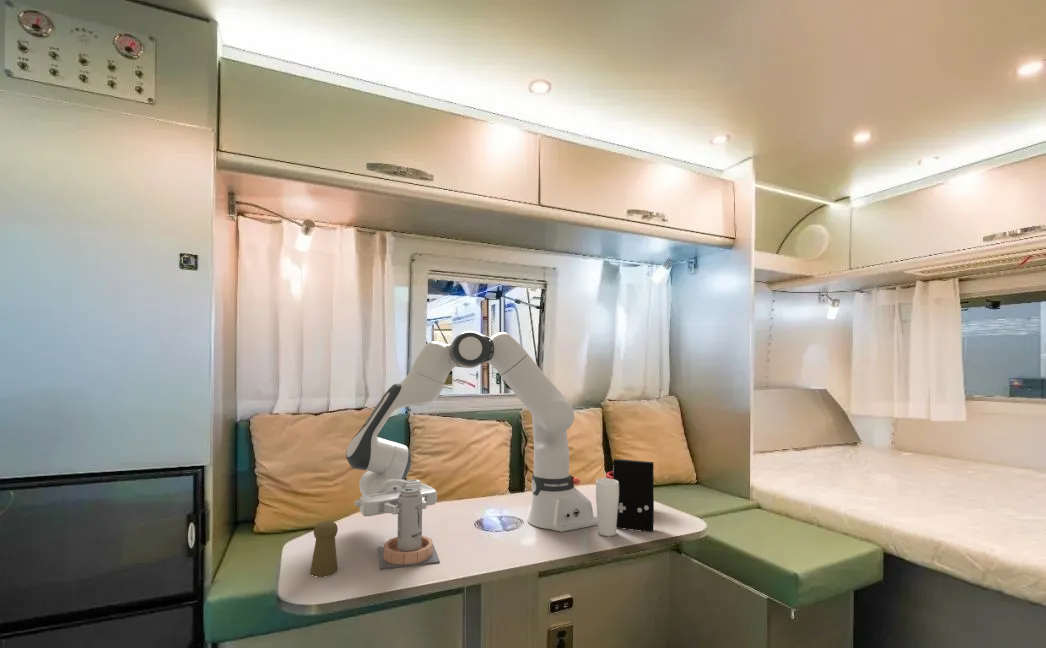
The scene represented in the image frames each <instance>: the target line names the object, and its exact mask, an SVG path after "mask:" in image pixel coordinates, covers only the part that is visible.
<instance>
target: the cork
mask: <svg viewBox="0 0 1046 648" xmlns="http://www.w3.org/2000/svg"><path fill="white" fill-rule="evenodd" d="M336 523H337V522H334V521H321V522H320V523H317V524H316V526H315V527H314V530H313V537H314V538H315V543H314V548H313V555H312V560H311V566H310V571H309V574H311V575H313V576H317V577H316V578H325V577H324V576H326V577H329V575H330V576H332V574H333V575H335V574H336V573H337V572H338V571H337V570H339V568H338V557H337V555H338V554H337V546H336V536H337V534H338V531H339V529H338V524H336ZM335 572H336V573H335ZM311 575H310V576H311ZM313 576H312V577H313Z"/></svg>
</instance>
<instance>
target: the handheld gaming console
mask: <svg viewBox="0 0 1046 648" xmlns="http://www.w3.org/2000/svg"><path fill="white" fill-rule="evenodd" d="M612 467H613V468H612V471H613V479H614V480H617V481H619V504H618V515H617V528H619V529H622V528H625V529H624V530H629V529H633V530H632V531H637V530H641V531H640V532H654V519H655V517H654V516H655V513H654V511H655V509H654V507H655V505H654V504H655V503H654V502H655V500H654V494H655V493H654V492H655V491H654V488H655V487H654V483H655V482H654V477H655V472H654V470H655V469H654V468H655V467H654V462H653V461H644V460H642V461H641V460H633V459H632V460H631V459H630V460H629V459H621V458H620V459H618V458H614V459H613V465H612Z"/></svg>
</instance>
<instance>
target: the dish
mask: <svg viewBox="0 0 1046 648" xmlns="http://www.w3.org/2000/svg"><path fill="white" fill-rule="evenodd" d="M377 549H378V558H379V561H378V562H379V569H380V571H382V569H383V570H384V569H385V570H391V569H392V568H393V569H399V567H401V568H407V567H408V566H409V567H415V566H416V565H418V566H425V565H426V566H427V565H434V564H440V561H441V560H440V558H439V556H438V553H437V550H436V548H435V544H434V542H433V540H432V538H430V537H427V536H425V535H422V546H421V547H420V548H419V550H417V551H410V552H400V551H399V549H398V548H397V536H395V537H392V538H389V539H388V540H387V541H385V542H384V543H383V546H378V548H377ZM393 569H392V570H393Z"/></svg>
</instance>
